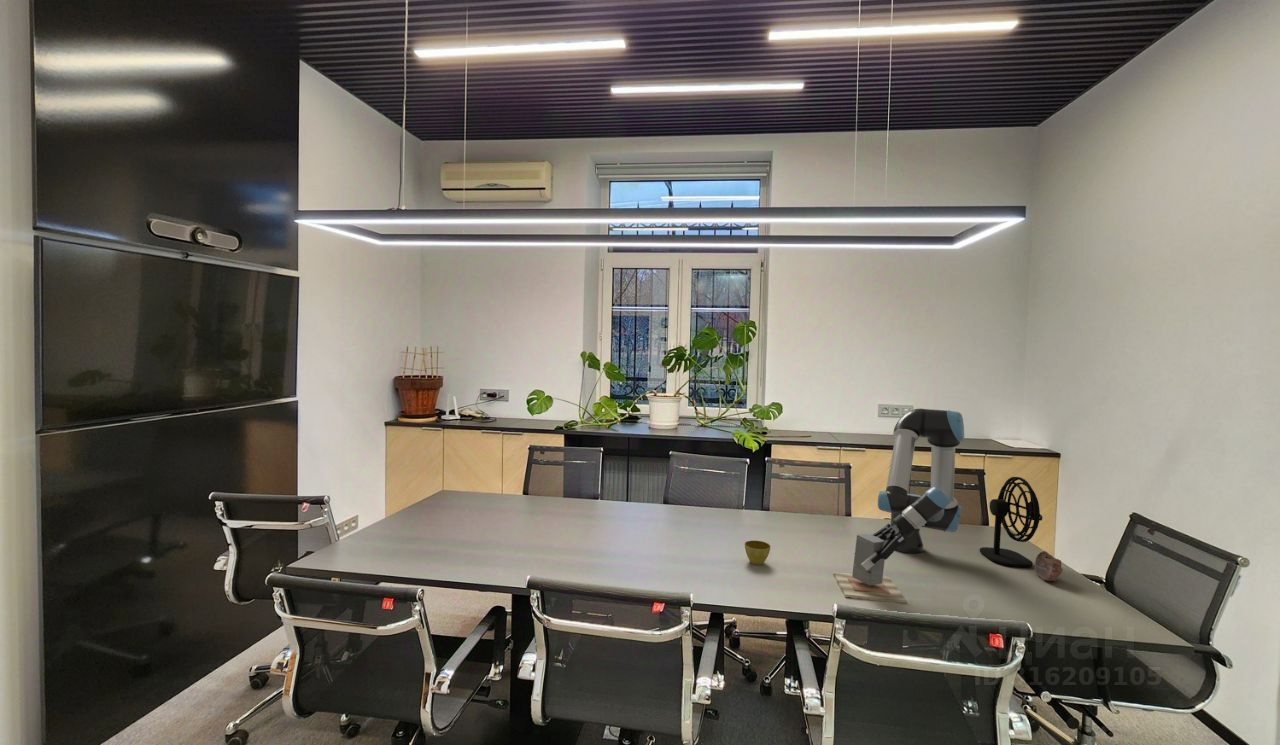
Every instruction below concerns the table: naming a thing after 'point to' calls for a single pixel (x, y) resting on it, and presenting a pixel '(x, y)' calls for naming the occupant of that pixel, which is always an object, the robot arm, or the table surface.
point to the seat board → (869, 589)
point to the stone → (1047, 566)
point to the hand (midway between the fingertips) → (860, 561)
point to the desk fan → (1012, 523)
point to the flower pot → (757, 551)
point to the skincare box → (863, 551)
